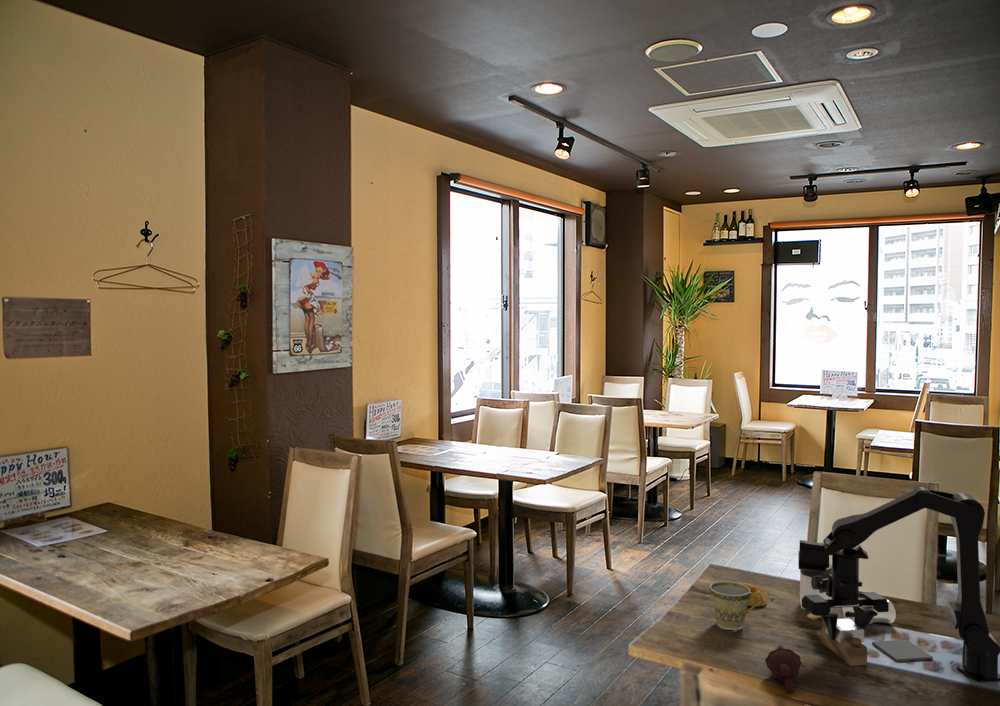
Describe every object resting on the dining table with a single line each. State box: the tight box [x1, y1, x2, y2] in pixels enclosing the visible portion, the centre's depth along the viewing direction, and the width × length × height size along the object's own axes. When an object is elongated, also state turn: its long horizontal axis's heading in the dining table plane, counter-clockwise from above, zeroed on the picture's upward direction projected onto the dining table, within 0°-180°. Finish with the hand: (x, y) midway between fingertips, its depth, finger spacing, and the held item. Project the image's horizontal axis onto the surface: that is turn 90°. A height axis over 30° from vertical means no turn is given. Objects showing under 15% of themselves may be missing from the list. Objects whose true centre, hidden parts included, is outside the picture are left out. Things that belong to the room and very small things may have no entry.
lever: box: [806, 612, 838, 621], centre depth 177 cm, size 9×4×2 cm, turn 5°
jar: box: [799, 563, 832, 611], centre depth 194 cm, size 9×8×12 cm
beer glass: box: [834, 598, 897, 626], centre depth 183 cm, size 7×7×15 cm
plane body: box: [821, 619, 868, 667], centre depth 167 cm, size 12×4×6 cm, turn 6°
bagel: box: [739, 582, 768, 607], centre depth 199 cm, size 10×11×5 cm
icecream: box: [765, 644, 802, 694], centre depth 156 cm, size 7×7×15 cm
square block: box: [826, 619, 865, 643], centre depth 167 cm, size 6×6×3 cm
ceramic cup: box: [709, 580, 762, 631], centre depth 182 cm, size 13×10×10 cm
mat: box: [871, 639, 934, 663], centre depth 168 cm, size 9×9×1 cm
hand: (844, 638), depth 167 cm, fingers closed on square block, 6 cm apart
